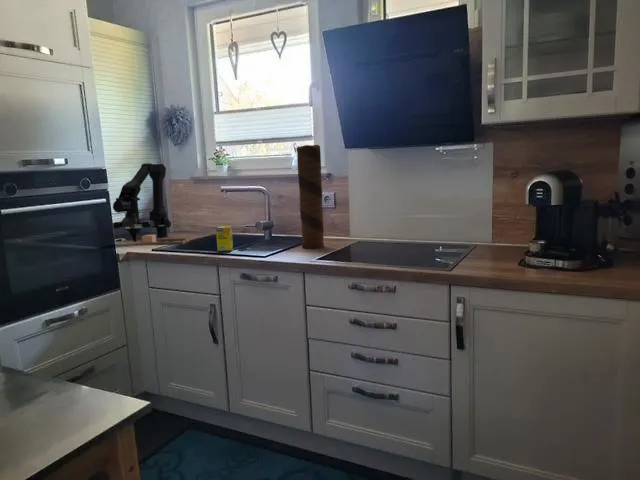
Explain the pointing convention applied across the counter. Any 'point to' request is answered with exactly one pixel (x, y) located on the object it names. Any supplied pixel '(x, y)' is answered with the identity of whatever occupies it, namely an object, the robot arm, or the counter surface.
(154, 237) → the terracotta block
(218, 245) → the supplement box
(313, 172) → the wafer roll
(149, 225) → the robot arm
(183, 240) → the trap lane
